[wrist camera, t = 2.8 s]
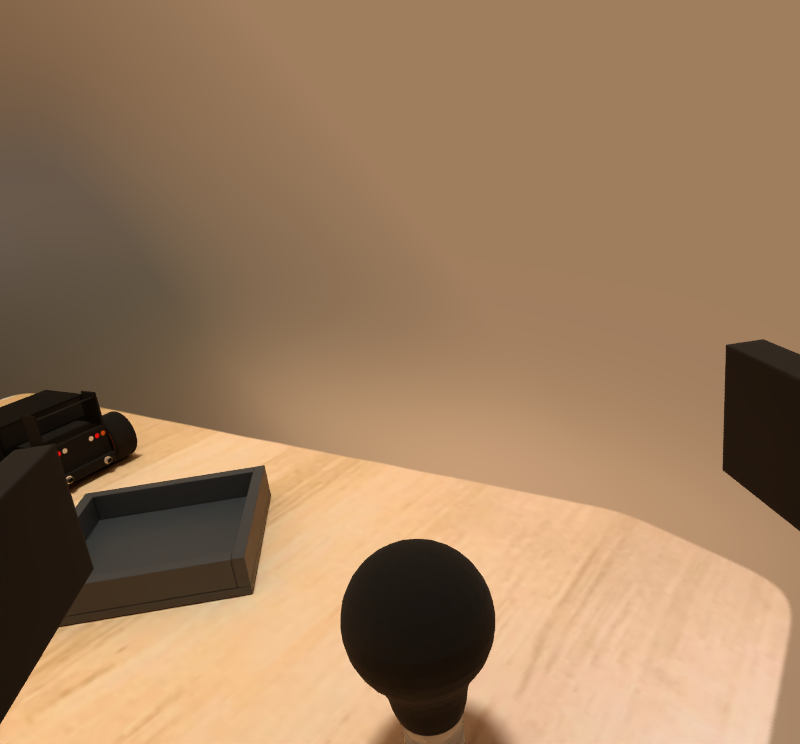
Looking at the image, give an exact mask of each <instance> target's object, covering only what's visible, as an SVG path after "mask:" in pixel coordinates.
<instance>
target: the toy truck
mask: <svg viewBox="0 0 800 744" xmlns="http://www.w3.org/2000/svg"><path fill="white" fill-rule="evenodd" d="M52 444H56V448H57V451H58V454H59V457H60V461H61V464H62V467H63V470H64V473H65V477H66V480H67V483H68V485H70V484H72V483H74V482H76V481H77V480H79V479H81V478H83V477H85V476H87V475H89V474H91V473H93V472H95V471H97V470H99V469H100V468H102V467H104V466H106V465H108V464H110V463H114V462H116V461H118V460H120V459H122V458H124V457H126V456H128V455H130V454H131V453H133V452H134V451H135V450H136V447H137V437H136V433H135V431H134V428H133V427H132V425H131V423H130V422H129V421H128V419H127V418H126V417H125V416H123V415H122V414H120V413H118V412H109V413H107V414H105V415H103V416H102V414H101V411H100V407H99V404H98V400H97V397H96V393H95V392H87V391H81V394H77V393H68V392H59V391H49V390H44V391H42V392H39V393H37V394H34V395H31V396H29V397H26V398H23V399H21V400H18V401H16V402H13V403H10V404H8V405H5V406H2V407H0V462H1V461H2V460H3V459H5V458H6V457H7V456H8V455H9V454H10V453H11V452H13V451H14V450H18V449H25V448H31V447H38V446H45V445H52Z"/></svg>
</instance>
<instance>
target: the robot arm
mask: <svg viewBox="0 0 800 744" xmlns="http://www.w3.org/2000/svg"><path fill="white" fill-rule="evenodd" d="M723 471H725V472H726V473H727V474H728V475H730V476H731V477H732V478H733V479H735V480H736V481H737V482H739V483H740V484H741V485H742V486H744V487H745V488H746V489H747V490H749V491H750V492H751V493H752V494H754V495H755V496H756V497H758V498H759V499H760V500H761V501H762V502H764V503H765V504H766V505H768V506H769V507H770V508H771V509H773V510H774V511H775V512H776V513H778V514H779V515H780V516H781V517H783V518H784V519H785V520H786V521H788V522H789V523H790V524H792V525H793V526H794V527H795V528H797V529H798V530H799V531H800V354H797V353H795V352H792V351H790V350H788V349H785V348H783V347H780V346H778V345H775V344H773V343H770V342H768V341H766V340H756V341H749V342H742V343H736V344H729V345H726V366H725V402H724V440H723ZM93 569H94V568H93V564H92V561H91V558H90V555H89V551H88V548H87V545H86V542H85V538H84V535H83V532H82V529H81V525H80V522H79V519H78V516H77V512H76V509H75V506H74V503H73V499H72V496H71V493H70V490H69V486H68V483H67V480H66V477H65V473H64V470H63V467H62V464H61V461H60V457H59V454H58V451H57V448H56V444H52V445H45V446H38V447H31V448H25V449H18V450H14V451H13V452H11V453H10V454H9V455H8V456H7V457H6V458H5V459H3V460H2V461H1V462H0V724H1V722H2V720H3V719H4V717H5V715H6V714H7V712H8V710H9V709H10V707H11V705H12V704H13V702H14V701H15V699H16V697H17V696H18V694H19V692H20V691H21V689H22V687H23V686H24V684H25V682H26V681H27V679H28V677H29V676H30V674H31V672H32V671H33V669H34V667H35V666H36V664H37V662H38V661H39V659H40V657H41V656H42V654H43V652H44V651H45V649H46V647H47V646H48V644H49V642H50V641H51V639H52V637H53V636H54V634H55V632H56V631H57V629H58V627H59V626H60V624H61V622H62V621H63V619H64V617H65V616H66V614H67V612H68V611H69V609H70V607H71V606H72V604H73V602H74V601H75V599H76V598H77V596H78V594H79V593H80V591H81V589H82V588H83V586H84V584H85V583H86V581H87V579H88V578H89V576H90V574H91V573H92V571H93Z"/></svg>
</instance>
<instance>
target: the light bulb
mask: <svg viewBox="0 0 800 744" xmlns="http://www.w3.org/2000/svg"><path fill="white" fill-rule="evenodd" d="M494 633H495V611H494V605H493V600H492V597H491V594H490V591H489V588H488V586H487V584H486V582H485V580H484V578H483V576H482V575H481V574H480V572H479V571H478V570H477V568H476V567H475V566H474V565H473V563H472V562H471V561H470V560H469V559H468V558H466V557H465V556H464V555H462V554H461V553H460V552H459V551H457V550H455V549H453V548H451V547H450V546H448V545H446V544H443V543H439V542H436V541H433V540H426V539H409V540H401V541H398V542H395V543H392V544H389V545H387V546H385V547H383V548H381V549H379V550H377V551H376V552H375V553H373V554H372V555H371V556H369V557H368V558H367V559H366V560H365V561H364V562H363V563H362V564H361V565H360V567H359V568H358V569H357V571H356V572H355V573H354V575H353V576H352V578H351V580H350V583H349V585H348V587H347V589H346V592H345V594H344V597H343V601H342V608H341V634H342V640H343V644H344V647H345V649H346V652H347V655H348V657H349V660H350V662H351V663H352V665H353V667H354V668H355V669H356V671H357V672H358V673H359V675H360V676H361V677H362V678H363V680H364V681H365V682H366V683H367V684H369V685H370V686H371V687H372V688H374V689H375V690H376V691H377V692H379V693H381V694H383V695H385V696H386V697H387V698H388V700H389V702H390V705H391V707H392V710H393V712H394V713H395V715H396V717H397V718H398V720H399V722H400V724H401V725H402V728H403V735H404V741H405V744H465V734H464V726H463V719H462V716H463V713H464V708H465V705H466V700H467V691H468V686H469V683H470V682H471V681H472V680H473V679H474V678H475V677H476V675H477V674H478V673H479V672H480V670H481V669H482V668H483V666H484V664H485V662H486V660H487V658H488V655H489V653H490V650H491V647H492V644H493V640H494Z"/></svg>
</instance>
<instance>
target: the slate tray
mask: <svg viewBox="0 0 800 744" xmlns="http://www.w3.org/2000/svg"><path fill="white" fill-rule="evenodd" d="M270 496H271V494H270V489H269V484H268V480H267V475H266V470H265V466H264V465H263V466H257V467H252V468H245V469H239V470H233V471H226V472H220V473H214V474H207V475H201V476H195V477H189V478H182V479H176V480H170V481H163V482H157V483H151V484H144V485H138V486H132V487H125V488H119V489H113V490H107V491H100V492H94V493H88V494H85V495H84V497H83V498H82V499H81V501H80V502H79V504H78V505H77V506H76V508H75V509H76V512H77V516H78V519H79V522H80V525H81V529H82V532H83V535H84V538H85V542H86V545H87V548H88V551H89V555H90V558H91V561H92V564H93V568H94V569H93V571H92V573H91V574H90V576H89V578H88V579H87V581H86V583H85V584H84V586H83V588H82V589H81V591H80V593H79V594H78V596H77V598H76V599H75V601H74V602H73V604H72V606H71V607H70V609H69V611H68V612H67V614H66V616H65V617H64V619H63V621H62V622H61V624H60V626H64V625H70V624H76V623H82V622H88V621H94V620H100V619H105V618H111V617H117V616H123V615H129V614H135V613H141V612H147V611H153V610H159V609H165V608H171V607H176V606H182V605H188V604H194V603H200V602H206V601H212V600H218V599H224V598H230V597H236V596H242V595H248V594H252V593H253V588H254V583H255V577H256V572H257V567H258V561H259V556H260V550H261V545H262V539H263V534H264V528H265V523H266V518H267V512H268V507H269V501H270Z"/></svg>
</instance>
